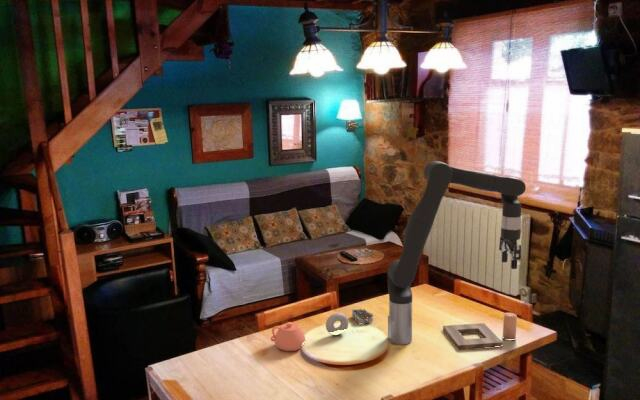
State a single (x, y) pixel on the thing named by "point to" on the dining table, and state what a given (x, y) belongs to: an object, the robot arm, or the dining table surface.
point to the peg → (509, 325)
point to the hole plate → (463, 344)
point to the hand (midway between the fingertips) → (509, 265)
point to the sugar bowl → (288, 337)
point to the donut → (333, 319)
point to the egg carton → (362, 316)
